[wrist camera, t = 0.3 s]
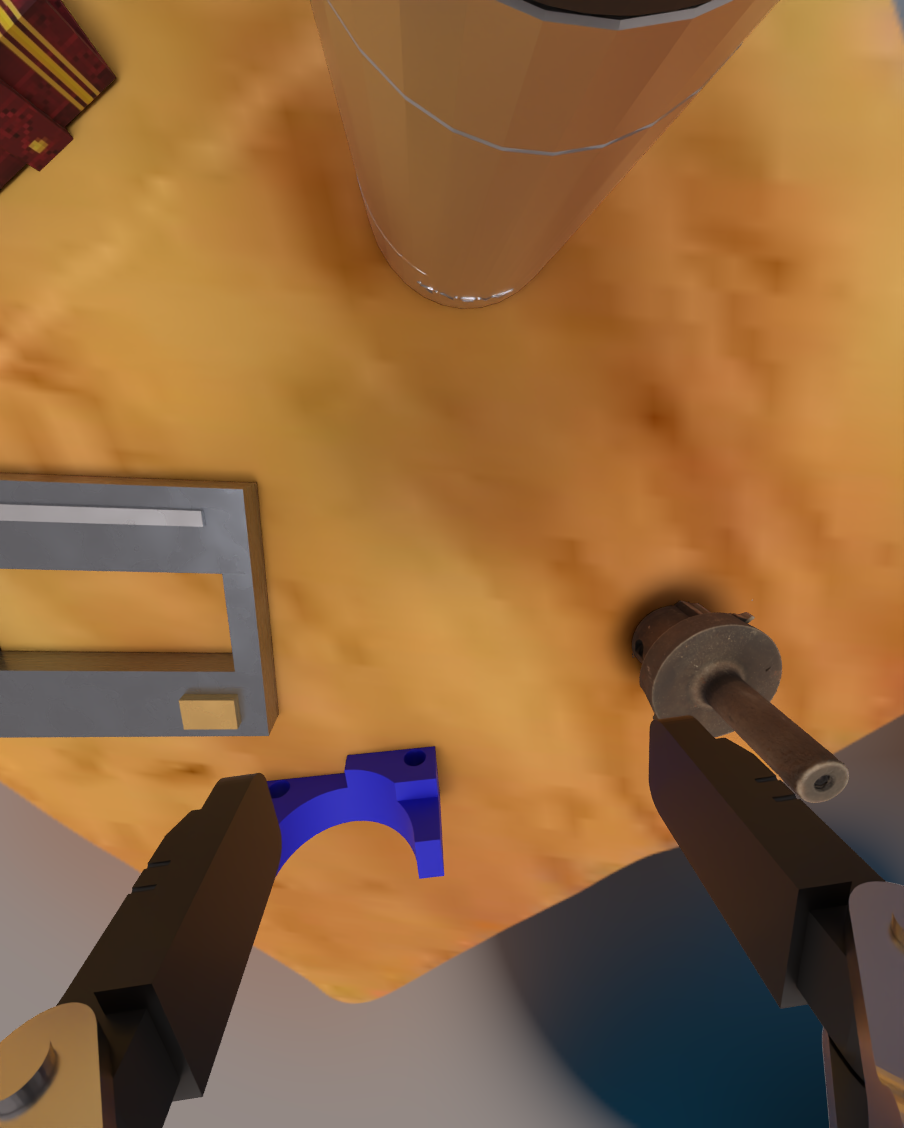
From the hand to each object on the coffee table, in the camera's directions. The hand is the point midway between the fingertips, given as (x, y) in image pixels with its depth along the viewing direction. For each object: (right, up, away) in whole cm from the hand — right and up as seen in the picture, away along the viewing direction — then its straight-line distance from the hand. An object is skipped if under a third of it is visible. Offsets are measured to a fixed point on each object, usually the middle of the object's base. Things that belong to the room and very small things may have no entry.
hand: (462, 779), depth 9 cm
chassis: (-20, +2, +16) cm, 26 cm away
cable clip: (-7, -11, +22) cm, 26 cm away
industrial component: (+14, 0, +20) cm, 24 cm away
